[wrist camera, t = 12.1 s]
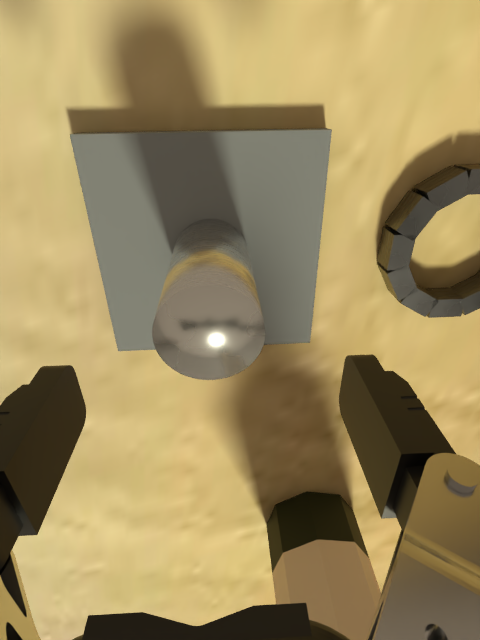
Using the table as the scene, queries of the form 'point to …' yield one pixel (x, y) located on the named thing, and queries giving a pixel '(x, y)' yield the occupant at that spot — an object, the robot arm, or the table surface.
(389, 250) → the metal eye
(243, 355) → the cylinder
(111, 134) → the slate mat
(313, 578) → the wine bottle
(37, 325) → the table surface
